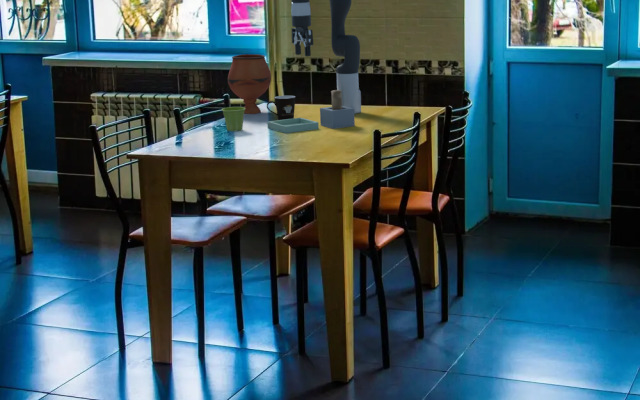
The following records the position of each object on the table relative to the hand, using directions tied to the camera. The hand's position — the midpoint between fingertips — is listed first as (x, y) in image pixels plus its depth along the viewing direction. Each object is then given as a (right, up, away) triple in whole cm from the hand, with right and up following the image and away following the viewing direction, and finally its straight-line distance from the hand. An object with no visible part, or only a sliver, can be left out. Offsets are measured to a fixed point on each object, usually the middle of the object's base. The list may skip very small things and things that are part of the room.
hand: (303, 55), depth 413 cm
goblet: (-23, -19, +44) cm, 54 cm away
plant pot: (-27, -30, +1) cm, 41 cm away
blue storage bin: (+14, -28, +3) cm, 31 cm away
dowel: (+14, -28, +3) cm, 31 cm away
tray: (-4, -29, 0) cm, 29 cm away
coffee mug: (-9, -25, +19) cm, 32 cm away
